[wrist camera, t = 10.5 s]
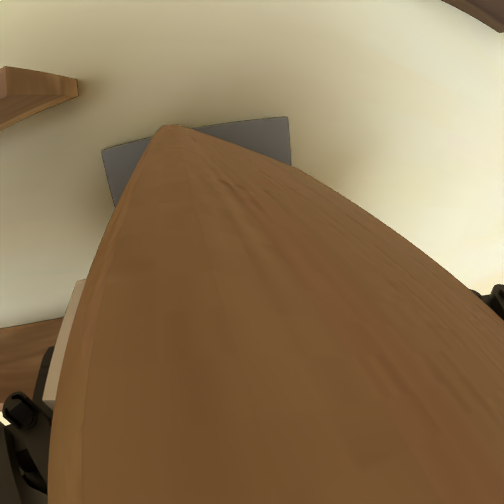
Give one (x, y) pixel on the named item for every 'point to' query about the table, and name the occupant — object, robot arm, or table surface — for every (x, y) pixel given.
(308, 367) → the block
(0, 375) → the cubby
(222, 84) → the table surface
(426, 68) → the table surface
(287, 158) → the pad
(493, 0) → the wooden crate
